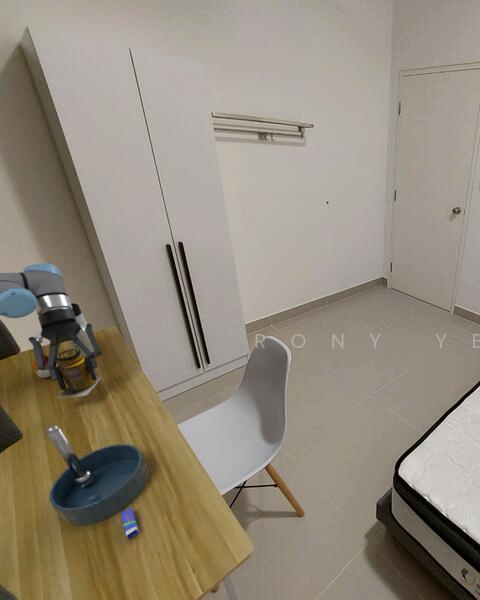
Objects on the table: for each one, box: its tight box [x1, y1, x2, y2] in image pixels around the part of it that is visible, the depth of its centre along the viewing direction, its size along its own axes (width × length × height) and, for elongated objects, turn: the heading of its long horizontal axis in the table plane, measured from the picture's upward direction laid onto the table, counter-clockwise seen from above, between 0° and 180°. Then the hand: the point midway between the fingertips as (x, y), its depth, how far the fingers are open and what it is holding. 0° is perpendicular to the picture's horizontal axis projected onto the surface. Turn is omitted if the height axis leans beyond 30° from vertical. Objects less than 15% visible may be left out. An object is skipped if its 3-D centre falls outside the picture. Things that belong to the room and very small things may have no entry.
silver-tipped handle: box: [45, 424, 94, 487], centre depth 73 cm, size 4×4×19 cm
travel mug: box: [68, 302, 94, 359], centre depth 116 cm, size 6×7×20 cm
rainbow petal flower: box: [30, 354, 58, 379], centre depth 110 cm, size 8×10×7 cm
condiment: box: [55, 348, 103, 399], centre depth 96 cm, size 7×8×12 cm
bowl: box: [49, 443, 150, 527], centre depth 76 cm, size 16×16×6 cm
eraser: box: [120, 507, 140, 540], centre depth 71 cm, size 2×6×2 cm, turn 44°
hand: (79, 383), depth 95 cm, fingers closed on condiment, 6 cm apart
